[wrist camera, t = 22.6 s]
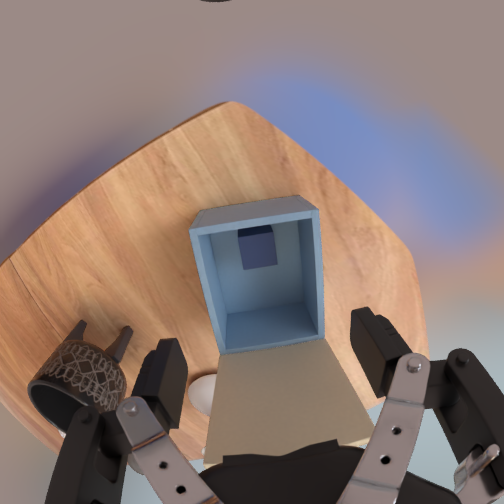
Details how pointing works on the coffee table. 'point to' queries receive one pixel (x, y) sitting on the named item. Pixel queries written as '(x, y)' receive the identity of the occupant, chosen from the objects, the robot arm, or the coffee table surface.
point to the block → (257, 247)
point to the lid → (283, 403)
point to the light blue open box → (261, 275)
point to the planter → (79, 378)
